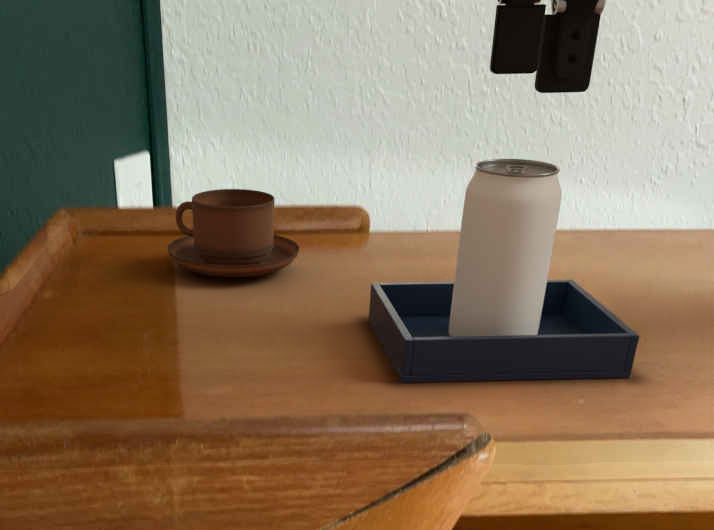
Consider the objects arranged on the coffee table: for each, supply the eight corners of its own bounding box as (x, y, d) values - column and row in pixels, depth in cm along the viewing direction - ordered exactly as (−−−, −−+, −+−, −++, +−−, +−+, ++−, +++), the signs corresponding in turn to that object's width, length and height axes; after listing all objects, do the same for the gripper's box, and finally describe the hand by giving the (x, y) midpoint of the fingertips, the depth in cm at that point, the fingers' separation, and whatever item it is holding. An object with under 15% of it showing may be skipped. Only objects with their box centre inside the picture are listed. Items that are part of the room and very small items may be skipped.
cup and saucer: (153, 283, 84) (149, 209, 81) (186, 248, 94) (184, 181, 91) (287, 291, 83) (289, 216, 79) (307, 255, 92) (309, 186, 89)
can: (443, 351, 69) (465, 172, 63) (451, 323, 75) (471, 155, 68) (535, 359, 68) (567, 178, 61) (536, 330, 73) (565, 160, 66)
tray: (565, 317, 78) (572, 279, 76) (630, 377, 67) (640, 335, 65) (368, 320, 76) (371, 282, 75) (401, 383, 66) (405, 340, 64)
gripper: (726, -309, 45) (646, 99, 55) (593, -250, 59) (548, 66, 69) (570, -309, 45) (518, 102, 54) (473, -250, 59) (446, 68, 69)
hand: (535, 81), depth 62 cm, fingers open, 9 cm apart
